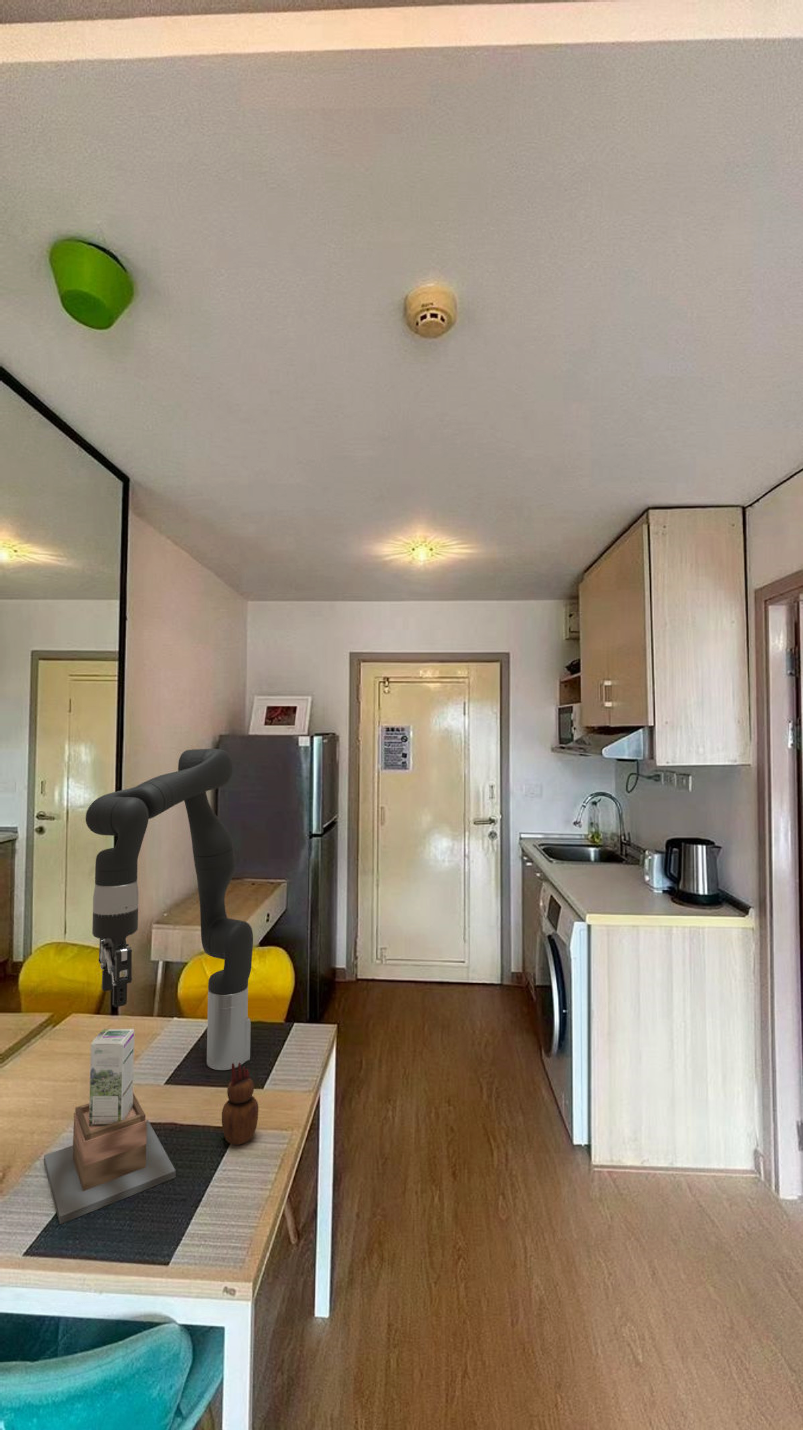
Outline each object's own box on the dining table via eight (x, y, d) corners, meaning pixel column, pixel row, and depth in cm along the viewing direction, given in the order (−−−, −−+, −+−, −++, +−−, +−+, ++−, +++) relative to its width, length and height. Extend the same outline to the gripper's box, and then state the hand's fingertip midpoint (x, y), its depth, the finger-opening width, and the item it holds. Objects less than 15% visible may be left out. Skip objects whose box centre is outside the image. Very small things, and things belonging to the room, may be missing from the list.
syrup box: (133, 1107, 115) (135, 1026, 115) (120, 1127, 109) (122, 1042, 109) (102, 1107, 114) (104, 1027, 115) (87, 1128, 109) (89, 1042, 109)
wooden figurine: (224, 1153, 116) (226, 1071, 117) (218, 1136, 121) (220, 1057, 122) (261, 1143, 119) (262, 1062, 120) (253, 1126, 124) (254, 1049, 125)
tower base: (147, 1126, 124) (148, 1073, 124) (175, 1177, 110) (176, 1118, 110) (44, 1162, 113) (45, 1104, 114) (59, 1224, 99) (61, 1158, 99)
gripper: (148, 912, 110) (146, 1006, 110) (128, 895, 122) (126, 980, 121) (101, 920, 106) (99, 1017, 105) (85, 901, 117) (83, 989, 116)
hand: (113, 997), depth 113 cm, fingers open, 8 cm apart
